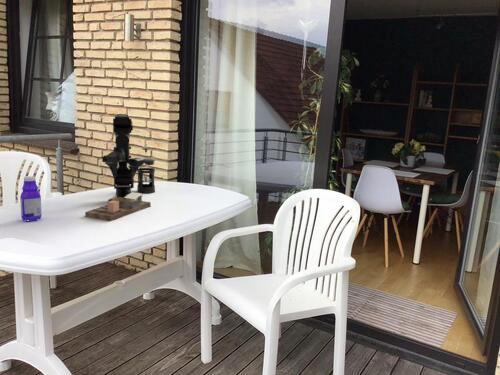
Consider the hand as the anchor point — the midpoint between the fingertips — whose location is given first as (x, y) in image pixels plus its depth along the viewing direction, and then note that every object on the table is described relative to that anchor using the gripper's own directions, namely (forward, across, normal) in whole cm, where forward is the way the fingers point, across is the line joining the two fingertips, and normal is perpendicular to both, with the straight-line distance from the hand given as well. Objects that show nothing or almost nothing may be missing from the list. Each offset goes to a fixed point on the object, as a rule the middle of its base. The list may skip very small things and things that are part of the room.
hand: (123, 179), depth 204 cm
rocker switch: (+8, +3, +3) cm, 10 cm away
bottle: (+13, -17, -35) cm, 41 cm away
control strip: (+13, +3, -7) cm, 15 cm away
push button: (+10, +3, -4) cm, 12 cm away
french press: (+13, -10, +32) cm, 36 cm away
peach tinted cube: (+11, +6, -15) cm, 19 cm away
